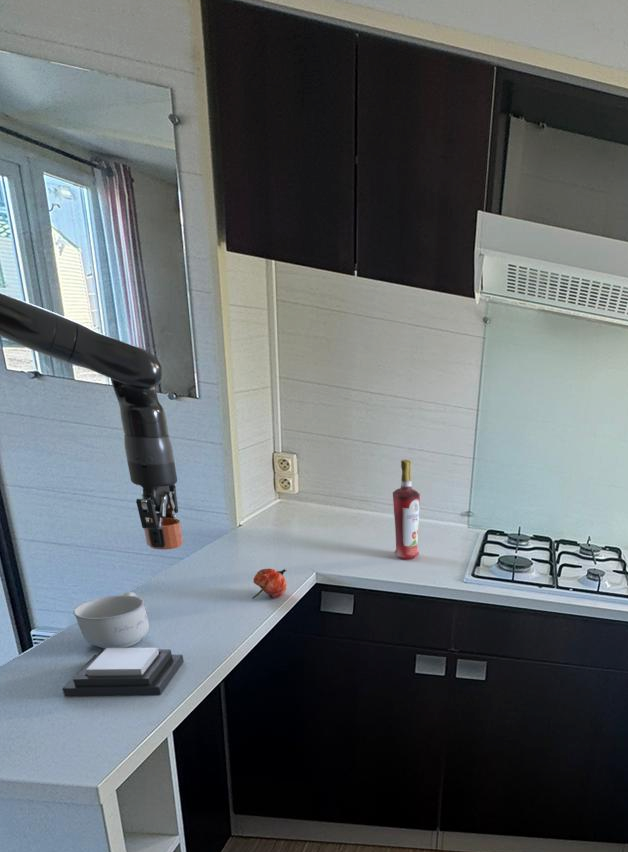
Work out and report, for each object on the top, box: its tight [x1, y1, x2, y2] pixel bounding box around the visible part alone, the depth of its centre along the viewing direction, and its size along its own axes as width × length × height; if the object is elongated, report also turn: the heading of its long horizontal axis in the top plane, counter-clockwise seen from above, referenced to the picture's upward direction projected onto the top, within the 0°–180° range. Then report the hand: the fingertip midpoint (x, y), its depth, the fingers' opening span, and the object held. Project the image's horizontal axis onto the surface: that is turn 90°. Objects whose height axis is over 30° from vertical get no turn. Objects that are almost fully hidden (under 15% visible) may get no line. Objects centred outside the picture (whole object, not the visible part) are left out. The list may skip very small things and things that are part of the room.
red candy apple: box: [251, 568, 288, 600], centre depth 147 cm, size 7×7×10 cm
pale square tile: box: [86, 647, 159, 676], centre depth 110 cm, size 8×8×2 cm
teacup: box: [73, 591, 150, 649], centre depth 121 cm, size 14×11×8 cm
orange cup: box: [143, 517, 184, 551], centre depth 127 cm, size 6×6×5 cm
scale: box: [62, 648, 184, 697], centre depth 111 cm, size 14×12×3 cm
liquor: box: [392, 459, 421, 561], centre depth 178 cm, size 7×7×28 cm
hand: (164, 541), depth 128 cm, fingers closed on orange cup, 6 cm apart
